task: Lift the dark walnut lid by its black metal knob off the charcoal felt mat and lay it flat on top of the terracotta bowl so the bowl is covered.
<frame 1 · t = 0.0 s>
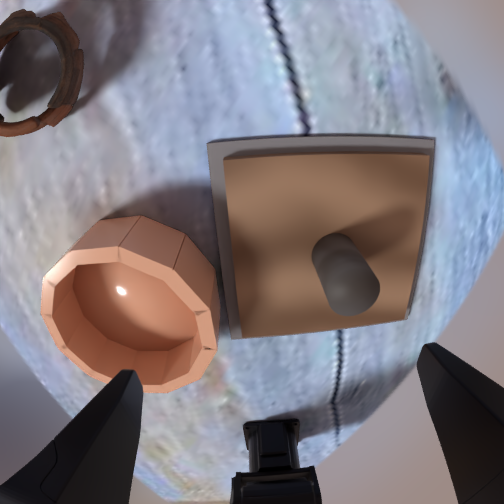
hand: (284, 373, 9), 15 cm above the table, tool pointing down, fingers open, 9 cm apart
terracotta bowl: (139, 293, 25), on the table
felt mat: (328, 245, 24), on the table
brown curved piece: (30, 83, 17), on the table
walnut lid: (330, 247, 23), resting on felt mat
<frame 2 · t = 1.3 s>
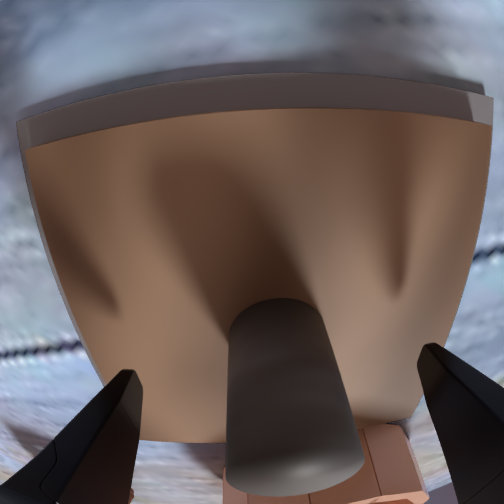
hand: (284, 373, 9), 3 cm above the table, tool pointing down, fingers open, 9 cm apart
terracotta bowl: (318, 470, 19), on the table
felt mat: (273, 311, 12), on the table
walnut lid: (274, 318, 11), resting on felt mat
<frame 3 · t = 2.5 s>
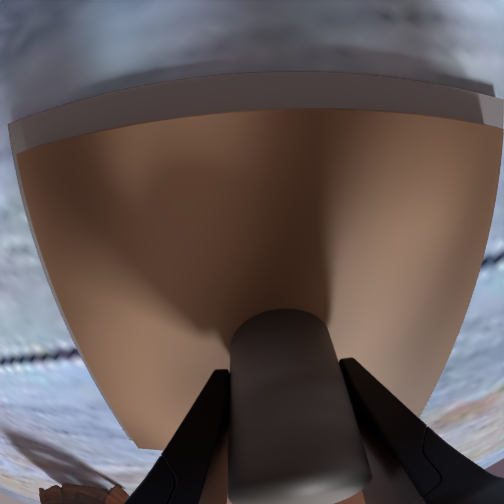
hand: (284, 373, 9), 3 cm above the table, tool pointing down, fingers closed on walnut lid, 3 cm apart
felt mat: (276, 320, 11), on the table
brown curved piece: (103, 491, 21), on the table
walnut lid: (277, 328, 11), resting on felt mat, touching gripper
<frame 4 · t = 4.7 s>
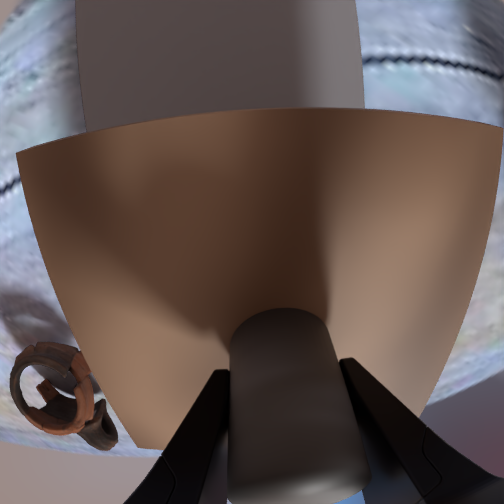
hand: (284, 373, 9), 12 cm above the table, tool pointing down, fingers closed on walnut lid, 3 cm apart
felt mat: (219, 89, 16), on the table
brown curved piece: (78, 373, 26), on the table
walnut lid: (277, 327, 11), point 10 cm above the table, touching gripper
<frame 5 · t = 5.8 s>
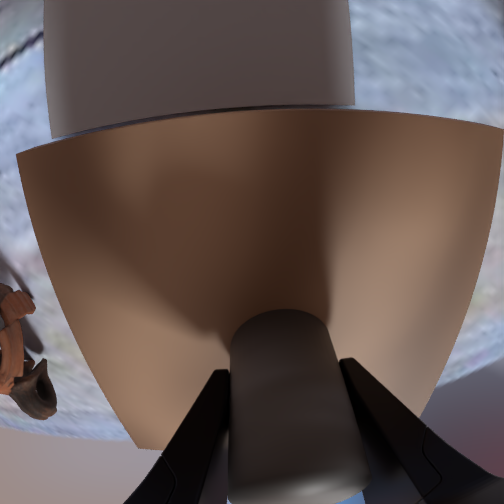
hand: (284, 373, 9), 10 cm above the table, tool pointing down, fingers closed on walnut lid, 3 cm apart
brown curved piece: (20, 327, 21), on the table
walnut lid: (277, 328, 11), point 8 cm above the table, touching gripper
when the fingers open (8 cm above the table, at t = 6.9 s): walnut lid stays where it is, resting on terracotta bowl.
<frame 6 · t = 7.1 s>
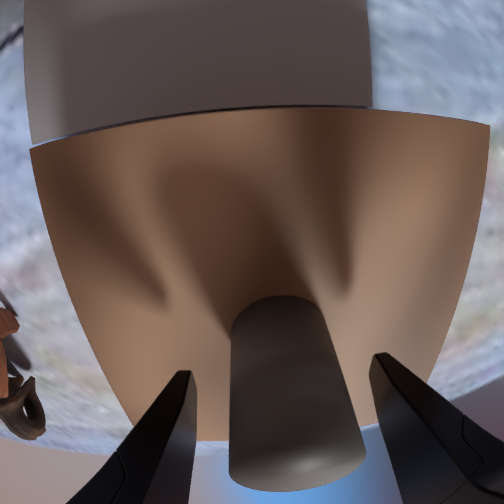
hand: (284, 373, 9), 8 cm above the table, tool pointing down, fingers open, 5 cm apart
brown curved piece: (7, 344, 19), on the table
walnut lid: (276, 316, 11), point 5 cm above the table, touching terracotta bowl
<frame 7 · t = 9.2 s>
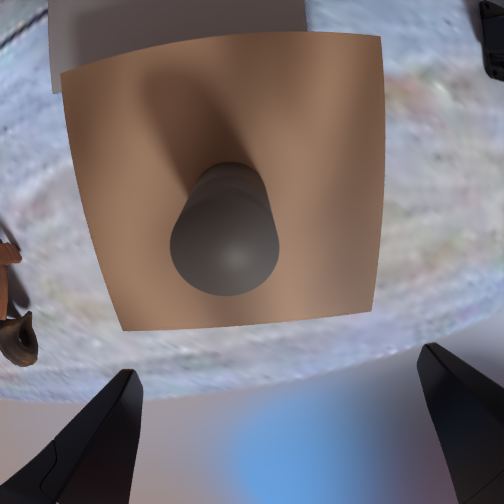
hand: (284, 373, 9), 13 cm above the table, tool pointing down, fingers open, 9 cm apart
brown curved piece: (10, 283, 23), on the table
walnut lid: (230, 191, 15), point 5 cm above the table, touching terracotta bowl
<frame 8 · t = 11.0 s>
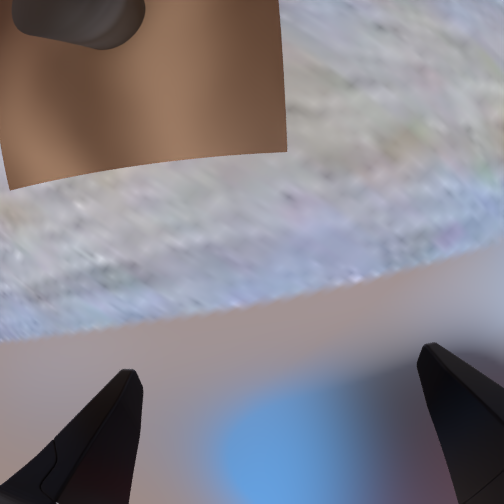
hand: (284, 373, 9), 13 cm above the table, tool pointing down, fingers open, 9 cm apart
walnut lid: (118, 20, 11), point 5 cm above the table, touching terracotta bowl
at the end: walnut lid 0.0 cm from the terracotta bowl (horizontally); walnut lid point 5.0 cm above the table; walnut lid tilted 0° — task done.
